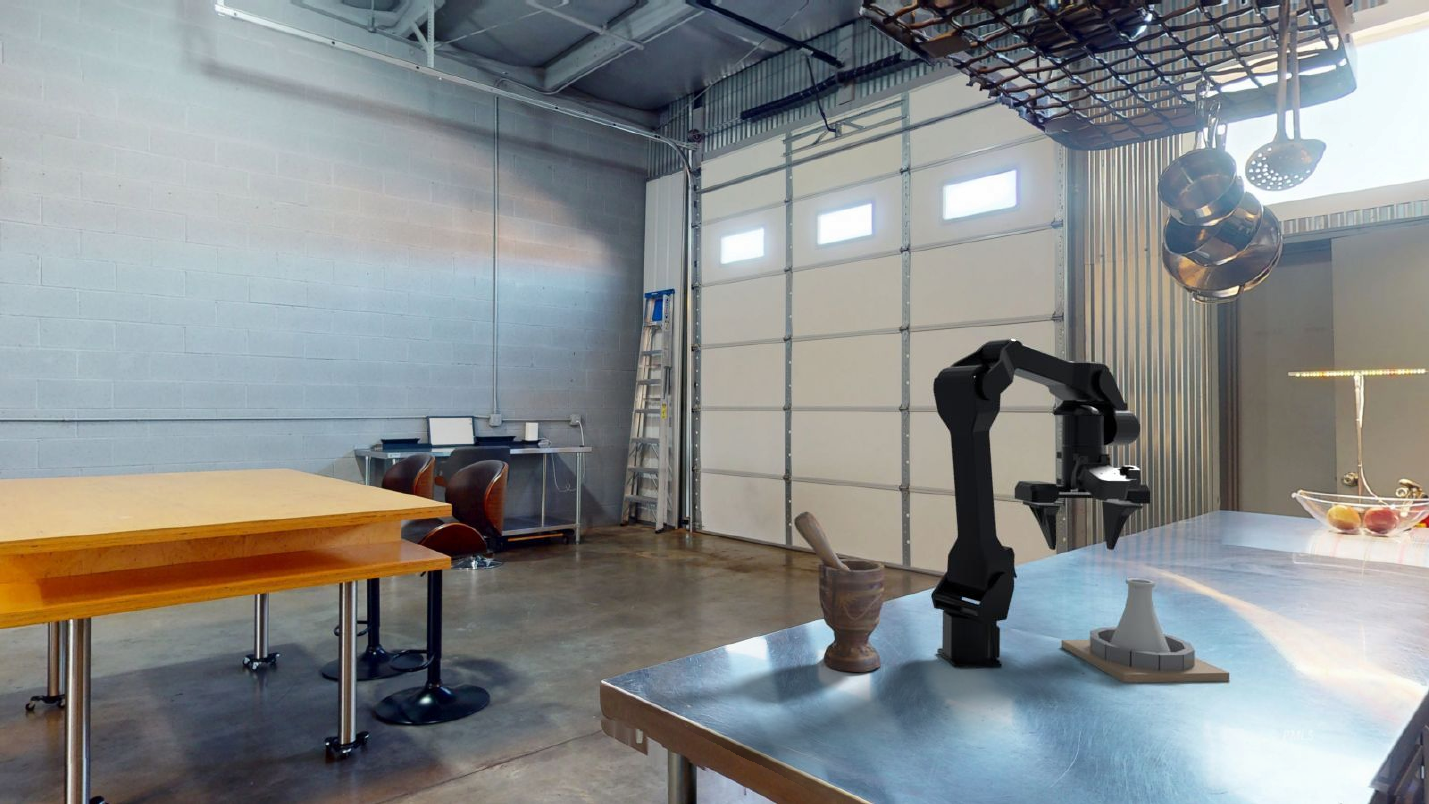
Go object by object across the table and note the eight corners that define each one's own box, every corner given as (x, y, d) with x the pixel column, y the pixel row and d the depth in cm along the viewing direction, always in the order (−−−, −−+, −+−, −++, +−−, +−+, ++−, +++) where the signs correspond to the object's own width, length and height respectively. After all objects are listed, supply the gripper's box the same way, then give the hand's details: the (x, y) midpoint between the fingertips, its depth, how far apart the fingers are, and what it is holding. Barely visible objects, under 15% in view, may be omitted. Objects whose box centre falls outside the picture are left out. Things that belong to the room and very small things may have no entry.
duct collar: (1124, 682, 92) (1124, 658, 92) (1061, 646, 106) (1061, 625, 106) (1229, 680, 93) (1229, 656, 93) (1153, 645, 107) (1153, 624, 107)
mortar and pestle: (817, 681, 90) (819, 518, 91) (785, 659, 98) (787, 509, 99) (896, 671, 95) (898, 515, 95) (859, 650, 103) (861, 507, 103)
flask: (1184, 662, 97) (1185, 586, 97) (1138, 666, 95) (1138, 588, 95) (1140, 645, 104) (1141, 574, 104) (1096, 648, 102) (1097, 576, 102)
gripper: (1052, 448, 103) (1051, 560, 102) (1178, 449, 104) (1177, 560, 104) (1013, 444, 114) (1012, 545, 113) (1127, 446, 115) (1126, 545, 115)
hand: (1081, 549), depth 111 cm, fingers open, 9 cm apart
